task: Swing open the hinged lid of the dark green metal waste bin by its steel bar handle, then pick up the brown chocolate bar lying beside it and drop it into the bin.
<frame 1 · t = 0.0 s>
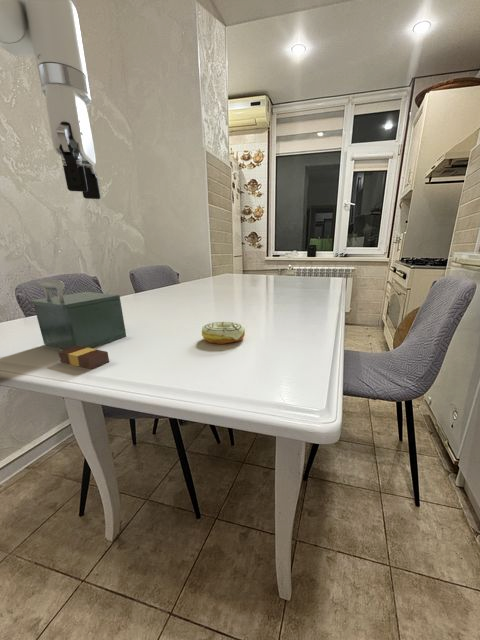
hand: (85, 195, 58), 32 cm above the table, tool pointing down, fingers open, 9 cm apart
bin: (87, 340, 72), on the table
decorated donut: (223, 339, 74), on the table
bin lid: (74, 289, 67), point 13 cm above the table, hinge at 0.0°
chocolate: (85, 361, 59), on the table
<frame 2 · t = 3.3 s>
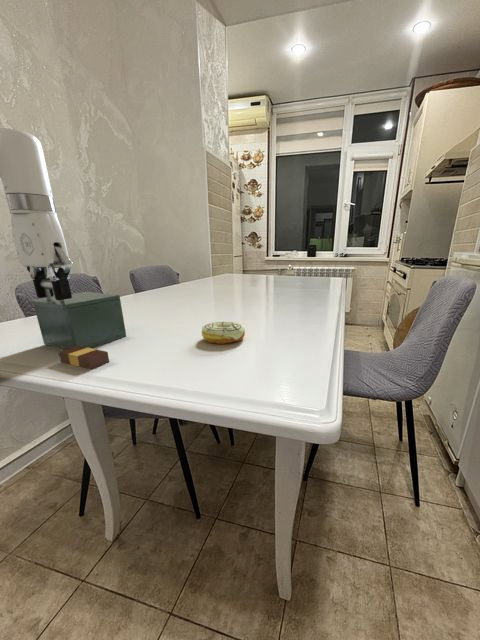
hand: (54, 297, 64), 12 cm above the table, tool pointing down, fingers closed on bin lid, 5 cm apart
bin lid: (74, 289, 67), point 13 cm above the table, hinge at 0.0°, touching gripper
everything else where it was.
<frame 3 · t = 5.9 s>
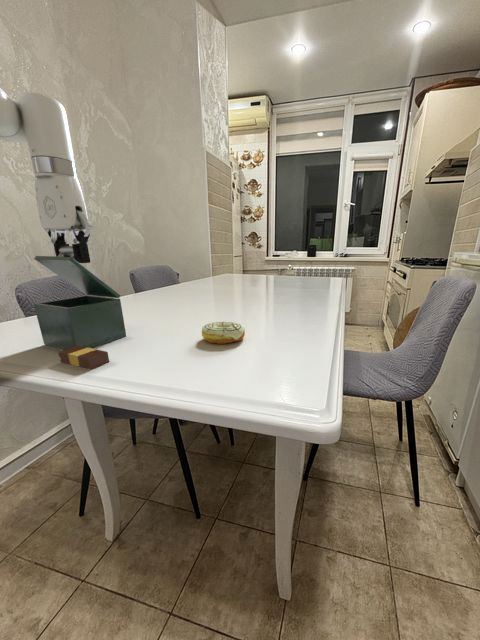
hand: (73, 261, 66), 19 cm above the table, tool pointing down, fingers closed on bin lid, 5 cm apart
bin lid: (84, 270, 69), point 17 cm above the table, hinge at 42.5°, touching gripper
everything else where it was.
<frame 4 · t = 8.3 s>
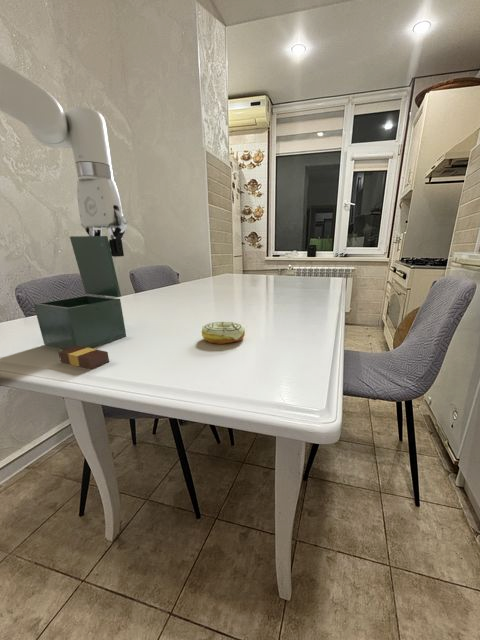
hand: (109, 255, 74), 20 cm above the table, tool pointing down, fingers closed on bin lid, 5 cm apart
bin lid: (103, 265, 73), point 17 cm above the table, hinge at 85.6°, touching gripper
everything else where it was.
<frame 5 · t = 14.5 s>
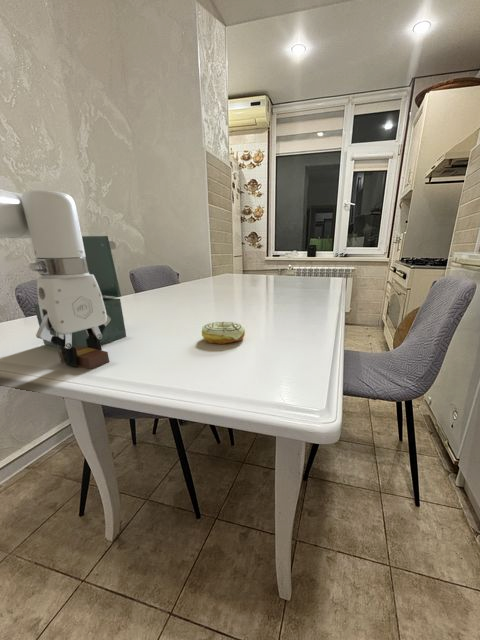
hand: (84, 360, 59), 0 cm above the table, tool pointing down, fingers closed on chocolate, 4 cm apart
bin lid: (103, 265, 73), point 17 cm above the table, hinge at 86.0°
chocolate: (85, 361, 59), on the table, touching gripper
everything else where it was.
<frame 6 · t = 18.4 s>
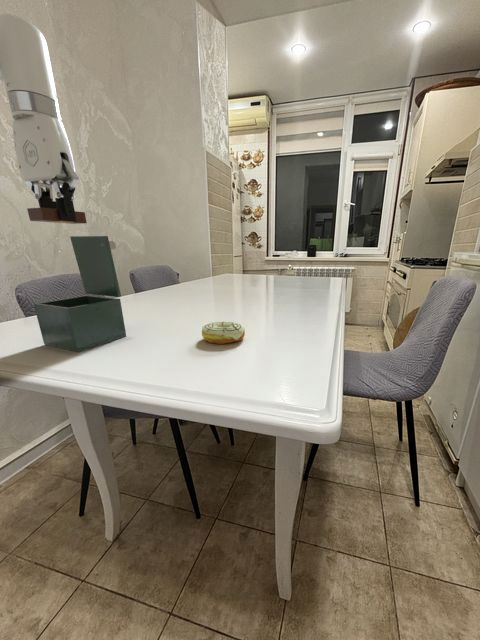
hand: (59, 220, 59), 27 cm above the table, tool pointing down, fingers closed on chocolate, 4 cm apart
chocolate: (60, 222, 60), point 27 cm above the table, touching gripper
everything else where it was.
when the fingers open (11 cm above the table, at t = 22.3 s): chocolate drops 10 cm, resting on bin.
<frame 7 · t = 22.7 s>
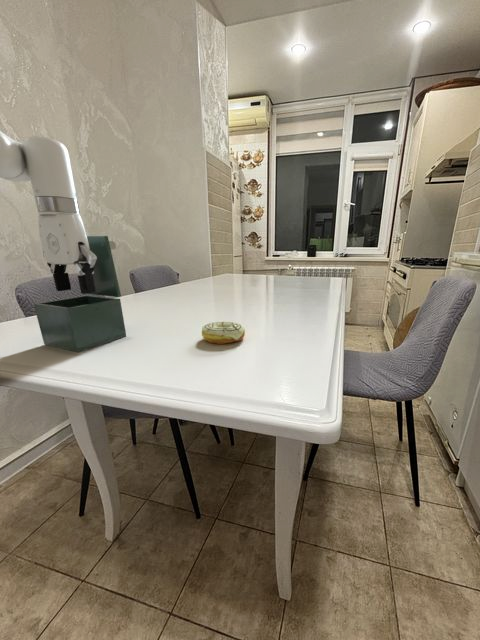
hand: (76, 291, 68), 12 cm above the table, tool pointing down, fingers open, 8 cm apart
chocolate: (86, 337, 72), point 1 cm above the table, touching bin
everything else where it was.
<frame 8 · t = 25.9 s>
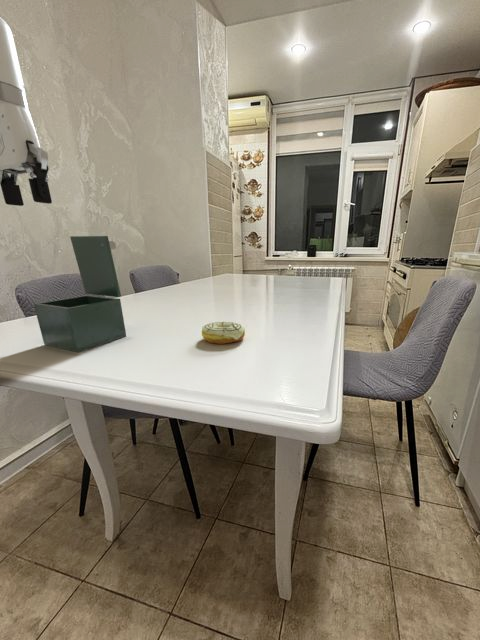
hand: (28, 203, 60), 30 cm above the table, tool pointing down, fingers open, 9 cm apart
nothing on the table moved.
at the end: bin lid at +86° (first picture: +0°); chocolate inside the target area in the bin (0.1 cm from its centre), point 0.8 cm above the bin's base; the gripper is holding nothing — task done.
